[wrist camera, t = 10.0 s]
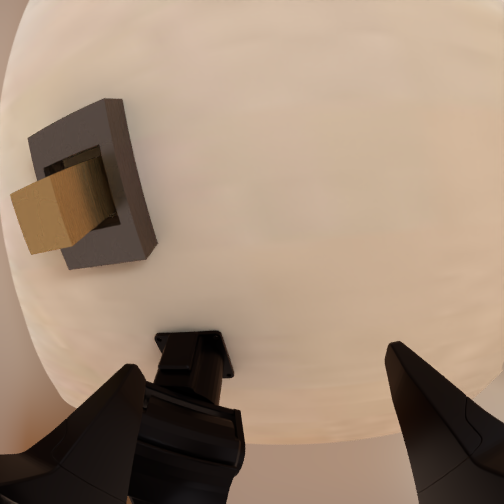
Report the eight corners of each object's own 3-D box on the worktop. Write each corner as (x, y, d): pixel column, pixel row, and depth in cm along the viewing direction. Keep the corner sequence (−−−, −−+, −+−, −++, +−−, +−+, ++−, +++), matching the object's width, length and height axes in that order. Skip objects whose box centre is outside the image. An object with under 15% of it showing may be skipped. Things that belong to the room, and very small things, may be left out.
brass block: (124, 203, 19) (72, 246, 13) (85, 213, 19) (31, 254, 13) (111, 152, 17) (49, 175, 11) (71, 166, 17) (10, 194, 11)
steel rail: (157, 243, 20) (146, 259, 18) (84, 255, 21) (69, 269, 19) (122, 99, 15) (104, 98, 13) (47, 133, 16) (27, 138, 14)
